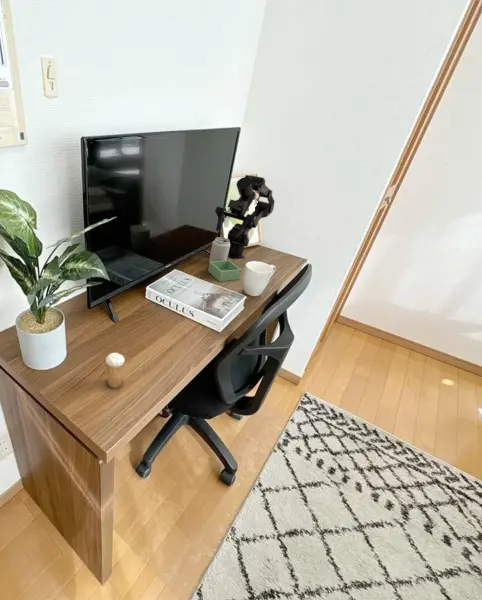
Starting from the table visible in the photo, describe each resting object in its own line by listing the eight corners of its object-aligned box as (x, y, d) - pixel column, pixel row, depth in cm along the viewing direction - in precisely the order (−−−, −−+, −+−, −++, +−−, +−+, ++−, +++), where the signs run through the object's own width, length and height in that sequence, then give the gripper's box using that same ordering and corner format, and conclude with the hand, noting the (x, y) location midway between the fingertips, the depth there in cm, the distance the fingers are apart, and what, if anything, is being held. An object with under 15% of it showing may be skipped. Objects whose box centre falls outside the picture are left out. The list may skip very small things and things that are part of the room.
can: (227, 268, 142) (233, 243, 135) (210, 267, 142) (215, 242, 135) (223, 261, 148) (228, 236, 142) (207, 260, 148) (212, 235, 141)
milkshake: (119, 394, 79) (121, 364, 73) (101, 384, 81) (102, 355, 76) (129, 382, 82) (131, 353, 77) (111, 374, 84) (112, 345, 79)
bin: (226, 269, 141) (228, 259, 139) (238, 279, 134) (241, 269, 131) (207, 271, 138) (209, 261, 136) (219, 281, 131) (221, 271, 129)
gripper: (220, 187, 137) (202, 218, 136) (261, 196, 126) (242, 230, 126) (226, 201, 146) (209, 230, 145) (265, 211, 135) (247, 243, 135)
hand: (226, 233), depth 138 cm, fingers open, 9 cm apart
